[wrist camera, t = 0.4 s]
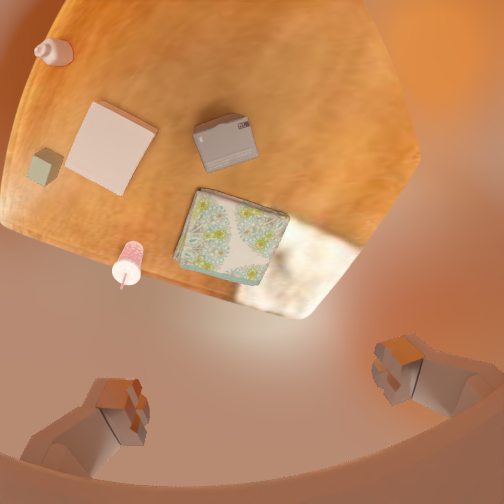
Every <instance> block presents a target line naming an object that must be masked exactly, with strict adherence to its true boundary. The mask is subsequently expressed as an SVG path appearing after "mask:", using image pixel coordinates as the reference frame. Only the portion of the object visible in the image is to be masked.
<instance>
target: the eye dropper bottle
mask: <svg viewBox="0 0 504 504" xmlns="http://www.w3.org/2000/svg"><path fill="white" fill-rule="evenodd" d="M34 51H35V55H36V56H37V57H42V59H43V61H44V62H45V63H46V64H48V65H54V66H66V65H68V64H69V63H71V62H72V61H73V50H72V47H71V45H70V44H69V43H68V42H67V41H65V40H60V39H56V38H47V39H46V40H44V41H43V42H42V43H41V44H40V45H38V46H37V47H36V48H35V50H34Z"/></svg>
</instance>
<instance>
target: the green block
mask: <svg viewBox="0 0 504 504" xmlns="http://www.w3.org/2000/svg"><path fill="white" fill-rule="evenodd" d="M63 158H64V156H62V155H60V154H58V153H56V152H54V151H52V150H50V149H48V148H45V149H43V150H41V151H39V152H38V153H36V154H34V155H33V157H32V160H31V164H30V167H29V171H28V174H27V178H29V179H31V180H33V181H35V182H36V183H38V184H40V185H42V186H44V187H45V186H46V185H48V184H49V183H50V182H51V181H53V180H54V179H55V178H56V177H57V175H58V172H59V169H60V167H61V164H62V161H63Z"/></svg>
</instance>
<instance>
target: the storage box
mask: <svg viewBox="0 0 504 504" xmlns="http://www.w3.org/2000/svg"><path fill="white" fill-rule="evenodd" d="M157 131H158V129H156V128H155V127H153V126H151V125H149V124H147V123H145V122H144V121H142V120H140V119H138V118H136V117H134V116H132V115H130V114H129V113H127V112H125V111H123V110H121V109H119V108H117V107H115V106H113V105H111V104H109V103H107V102H105V101H100V102H96V101H93V103H92V105H91V107H90V109H89V111H88V113H87V115H86V117H85V119H84V121H83V123H82V125H81V127H80V129H79V132H78V134H77V136H76V138H75V141H74V143H73V145H72V148H71V150H70V153H69V155H68V158H67V160H66V163H65V165H64V166H65V167H67V168H69V169H71V170H73V171H74V172H76V173H78V174H80V175H82V176H84V177H86V178H88V179H89V180H91V181H93V182H95V183H97V184H99V185H101V186H102V187H104V188H106V189H108V190H110V191H112V192H114V193H116V194H118V195H119V196H122V195H123V193H124V191H125V189H126V187H127V185H128V184H129V182H130V180H131V178H132V176H133V174H134V172H135V170H136V168H137V167H138V165H139V163H140V161H141V159H142V157H143V156H144V154H145V152H146V150H147V149H148V147H149V145H150V143H151V142H152V140H153V138H154V136H155V135H156V133H157Z"/></svg>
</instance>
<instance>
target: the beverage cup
mask: <svg viewBox="0 0 504 504" xmlns="http://www.w3.org/2000/svg"><path fill="white" fill-rule="evenodd" d="M142 257H143V247H142V245H141V244H140V243H138V242H136V241H130V242H128V243H127V244H126V245H125V247H124V249H123V251H122V253H121V255H120V257H119V258H118V260H117V262H115V264H114V266H113V268H112V274H113V276H114V278H115V279H116V280H117V281H118V282H120V283H122V284H121V287H120V289H121V290H122V289H123V285H124V284H125V285H132V284H135V283H136V282H138V280H139V279H140V275H141V270H140V268H141V262H142Z"/></svg>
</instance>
